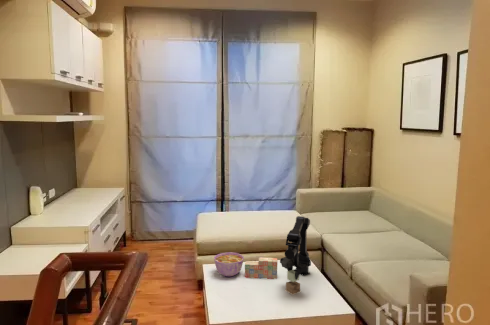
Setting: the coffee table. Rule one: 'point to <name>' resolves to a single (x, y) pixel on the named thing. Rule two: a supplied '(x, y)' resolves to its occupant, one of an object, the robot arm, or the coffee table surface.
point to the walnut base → (292, 287)
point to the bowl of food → (228, 263)
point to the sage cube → (291, 275)
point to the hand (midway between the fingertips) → (293, 277)
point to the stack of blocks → (261, 268)
